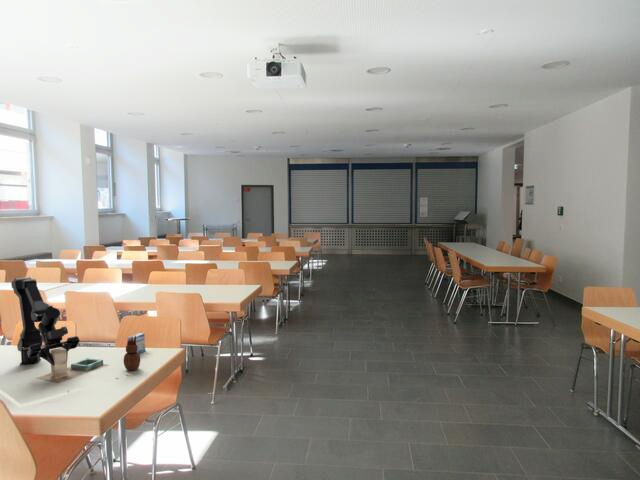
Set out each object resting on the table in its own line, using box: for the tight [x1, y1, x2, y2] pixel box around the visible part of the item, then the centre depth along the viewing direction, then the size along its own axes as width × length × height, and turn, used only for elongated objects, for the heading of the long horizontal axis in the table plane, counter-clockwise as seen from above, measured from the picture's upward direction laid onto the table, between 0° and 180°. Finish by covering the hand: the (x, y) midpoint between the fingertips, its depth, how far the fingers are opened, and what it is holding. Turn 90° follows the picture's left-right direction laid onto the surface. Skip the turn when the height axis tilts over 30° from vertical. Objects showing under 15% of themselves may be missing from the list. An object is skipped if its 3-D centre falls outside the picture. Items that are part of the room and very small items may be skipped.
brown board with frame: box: [36, 358, 109, 384], centre depth 199 cm, size 24×14×3 cm, turn 154°
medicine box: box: [127, 332, 146, 354], centre depth 228 cm, size 8×4×9 cm, turn 168°
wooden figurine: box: [123, 334, 141, 372], centre depth 203 cm, size 7×6×15 cm
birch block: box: [50, 347, 68, 379], centre depth 193 cm, size 4×4×11 cm
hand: (60, 363), depth 192 cm, fingers closed on birch block, 4 cm apart
